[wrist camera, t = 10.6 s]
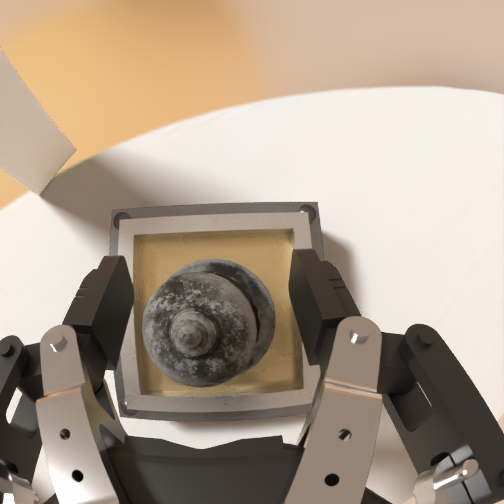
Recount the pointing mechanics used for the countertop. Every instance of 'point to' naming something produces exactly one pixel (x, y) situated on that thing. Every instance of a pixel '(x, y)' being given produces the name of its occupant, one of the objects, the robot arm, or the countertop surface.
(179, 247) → the grey square box
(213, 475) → the robot arm
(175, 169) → the countertop surface
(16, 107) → the milk
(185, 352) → the grey stone figure
